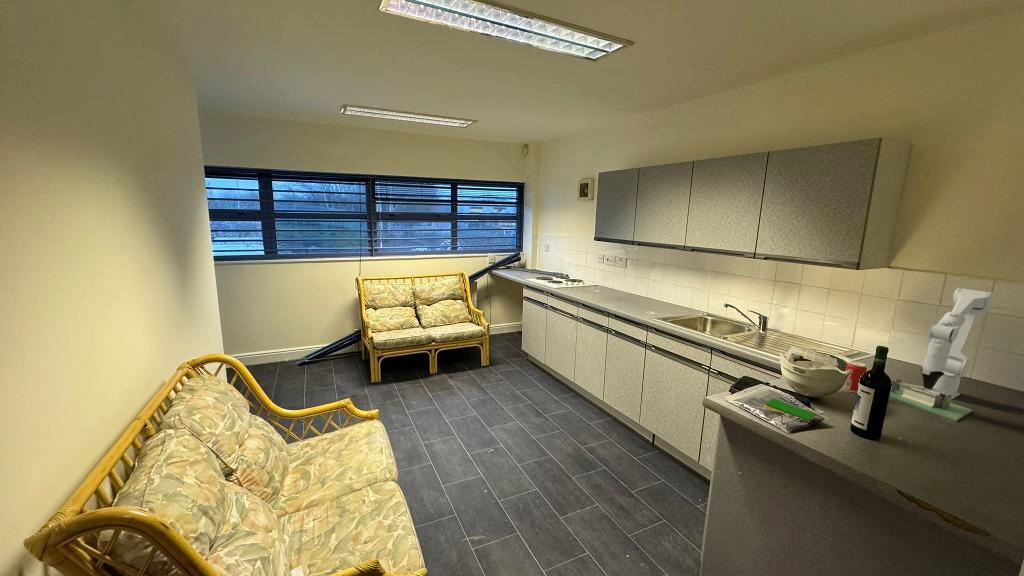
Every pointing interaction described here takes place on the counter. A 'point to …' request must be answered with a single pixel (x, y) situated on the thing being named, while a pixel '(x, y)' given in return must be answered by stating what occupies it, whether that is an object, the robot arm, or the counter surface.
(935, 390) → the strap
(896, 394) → the heatsink board
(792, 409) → the dish sponge
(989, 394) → the counter surface
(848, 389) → the beverage can
